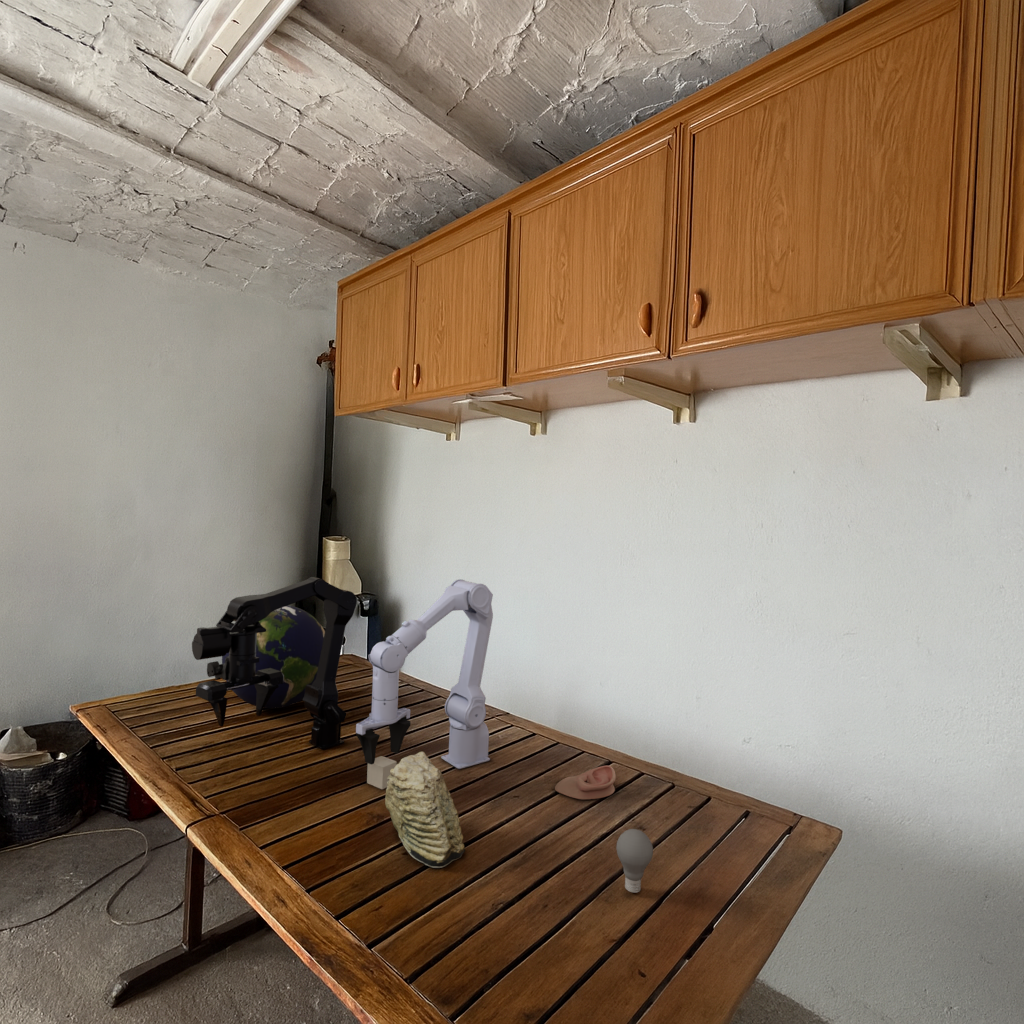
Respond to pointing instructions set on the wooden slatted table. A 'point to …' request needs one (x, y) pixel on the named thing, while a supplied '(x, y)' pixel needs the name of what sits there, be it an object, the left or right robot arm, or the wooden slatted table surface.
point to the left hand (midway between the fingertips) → (240, 720)
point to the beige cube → (380, 771)
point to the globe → (287, 655)
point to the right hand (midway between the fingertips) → (382, 757)
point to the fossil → (424, 812)
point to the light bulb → (634, 857)
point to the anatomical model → (589, 784)
